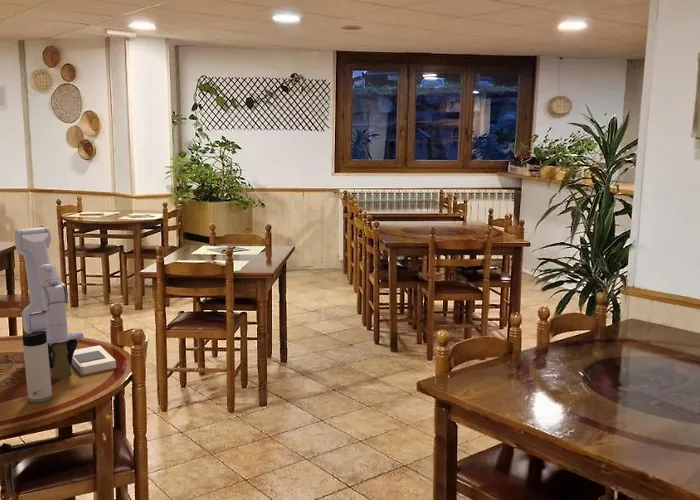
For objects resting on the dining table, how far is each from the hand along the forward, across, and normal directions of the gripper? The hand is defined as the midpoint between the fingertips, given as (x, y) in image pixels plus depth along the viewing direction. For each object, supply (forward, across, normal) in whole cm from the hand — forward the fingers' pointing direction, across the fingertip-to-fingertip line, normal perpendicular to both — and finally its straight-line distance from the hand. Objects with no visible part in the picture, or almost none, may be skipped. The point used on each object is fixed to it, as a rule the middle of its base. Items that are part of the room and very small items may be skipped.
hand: (60, 365), depth 213 cm
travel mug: (+4, -9, -15) cm, 18 cm away
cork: (+4, 0, 0) cm, 4 cm away
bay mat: (+1, +10, +5) cm, 11 cm away
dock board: (+3, +11, +6) cm, 13 cm away
